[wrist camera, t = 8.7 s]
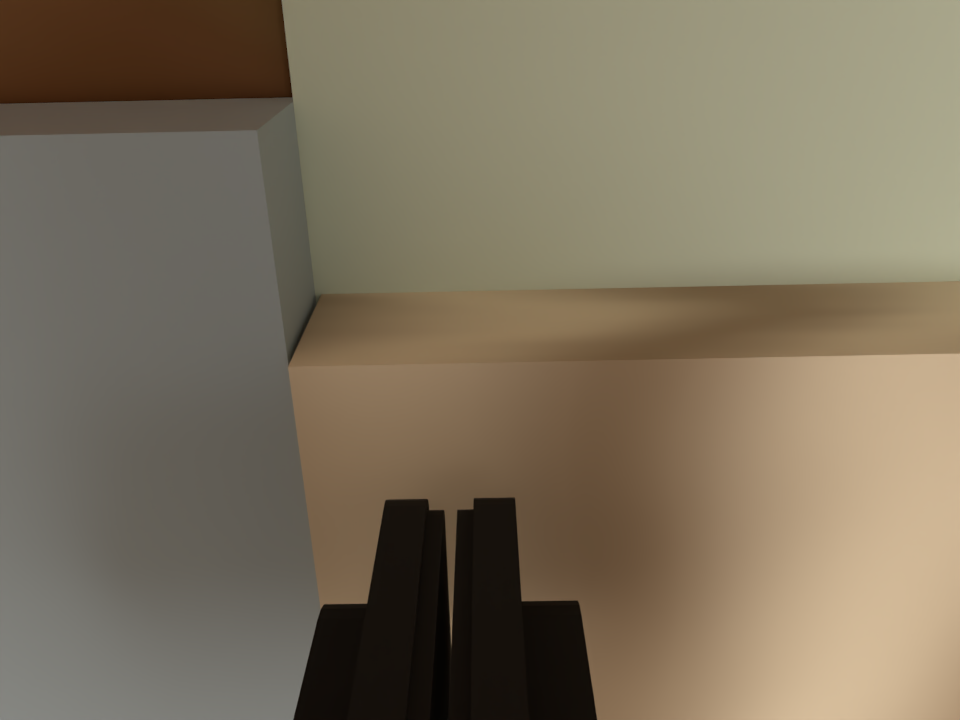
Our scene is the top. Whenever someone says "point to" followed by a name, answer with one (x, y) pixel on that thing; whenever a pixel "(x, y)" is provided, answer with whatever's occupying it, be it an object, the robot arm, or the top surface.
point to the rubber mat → (626, 142)
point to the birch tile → (670, 478)
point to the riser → (152, 411)
